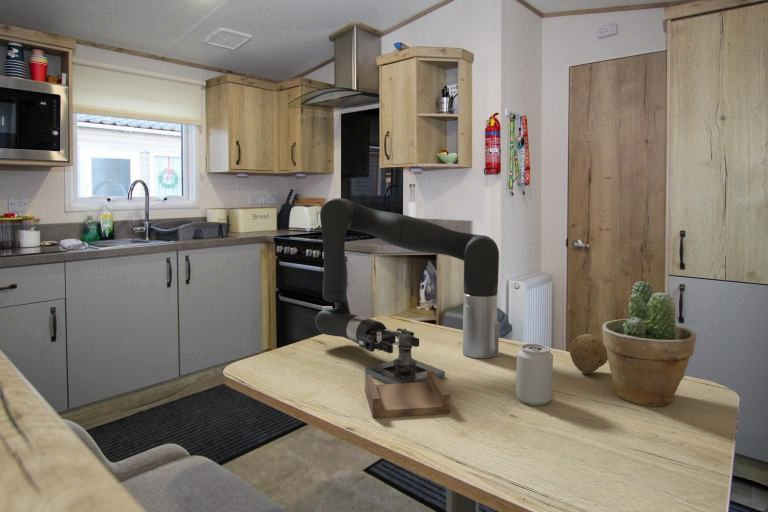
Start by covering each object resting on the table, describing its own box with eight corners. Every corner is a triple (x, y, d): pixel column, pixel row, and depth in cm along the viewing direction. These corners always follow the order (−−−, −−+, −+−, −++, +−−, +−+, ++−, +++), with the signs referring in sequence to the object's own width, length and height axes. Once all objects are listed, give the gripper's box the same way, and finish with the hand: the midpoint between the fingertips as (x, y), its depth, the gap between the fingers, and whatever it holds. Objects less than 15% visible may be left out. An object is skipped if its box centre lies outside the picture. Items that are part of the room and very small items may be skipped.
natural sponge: (587, 365, 135) (589, 328, 134) (615, 376, 127) (617, 337, 126) (561, 369, 132) (562, 332, 130) (587, 381, 123) (589, 341, 122)
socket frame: (407, 362, 137) (407, 356, 137) (444, 377, 126) (445, 371, 126) (365, 373, 128) (365, 367, 128) (401, 390, 118) (401, 384, 117)
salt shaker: (409, 381, 123) (409, 332, 122) (388, 376, 126) (388, 329, 125) (420, 374, 128) (421, 327, 127) (400, 369, 131) (400, 324, 130)
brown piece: (433, 387, 119) (433, 371, 119) (449, 413, 106) (450, 394, 105) (364, 391, 117) (364, 374, 116) (372, 418, 103) (372, 398, 103)
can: (551, 395, 115) (553, 343, 113) (550, 409, 108) (553, 353, 106) (517, 391, 117) (518, 340, 116) (514, 404, 110) (515, 350, 109)
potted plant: (712, 409, 107) (722, 292, 104) (636, 418, 103) (644, 296, 100) (648, 379, 125) (655, 278, 122) (581, 385, 121) (586, 281, 118)
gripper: (344, 322, 134) (382, 336, 122) (386, 314, 143) (426, 326, 130) (344, 350, 135) (382, 366, 122) (386, 341, 144) (426, 355, 131)
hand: (405, 346), depth 126 cm, fingers open, 8 cm apart
